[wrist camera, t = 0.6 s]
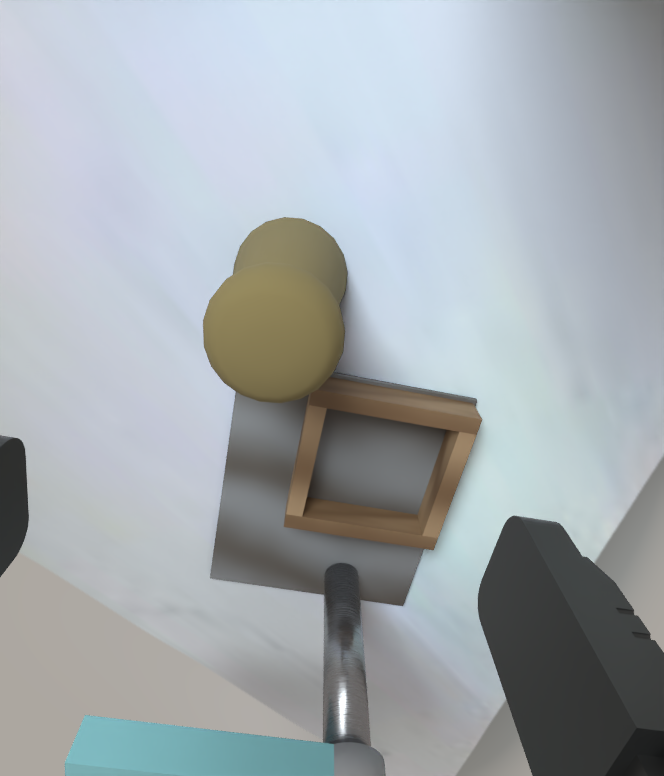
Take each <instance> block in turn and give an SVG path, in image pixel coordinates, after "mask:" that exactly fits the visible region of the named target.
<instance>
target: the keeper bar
mask: <svg viewBox="0 0 664 776" xmlns="http://www.w3.org/2000/svg"><path fill="white" fill-rule="evenodd" d="M65 776H386V775H385V764H384V759H383V757H382V755H381V754H380V753H379V752H378V751H377V750H376V749H374V748H372V747H370V746H368V745H365V744H361V743H354V742H343V743H336V744H329V743H321V742H311V741H303V740H295V739H286V738H277V737H269V736H261V735H251V734H242V733H234V732H226V731H218V730H209V729H200V728H192V727H183V726H175V725H166V724H157V723H148V722H140V721H131V720H123V719H115V718H105V717H96V716H89V715H85V717H84V719H83V721H82V724H81V726H80V729H79V731H78V733H77V735H76V738H75V740H74V742H73V745H72V747H71V750H70V752H69V754H68V757H67V759H66V761H65Z"/></svg>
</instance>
